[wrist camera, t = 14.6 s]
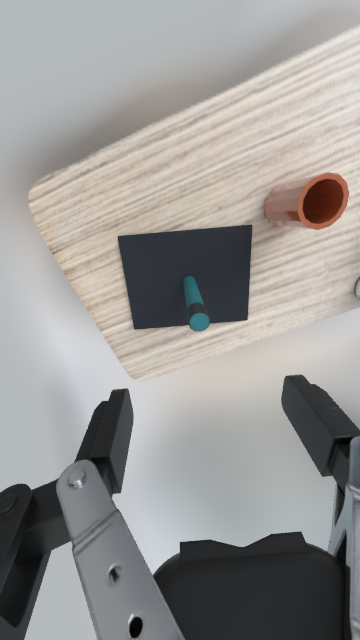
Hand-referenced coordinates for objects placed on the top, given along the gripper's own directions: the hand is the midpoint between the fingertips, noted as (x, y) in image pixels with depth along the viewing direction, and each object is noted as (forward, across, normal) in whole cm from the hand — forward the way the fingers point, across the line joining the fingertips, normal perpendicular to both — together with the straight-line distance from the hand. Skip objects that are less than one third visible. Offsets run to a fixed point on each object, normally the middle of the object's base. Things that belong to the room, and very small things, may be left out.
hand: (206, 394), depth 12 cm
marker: (+16, -1, 0) cm, 17 cm away
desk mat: (+24, -1, 0) cm, 24 cm away
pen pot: (+24, -14, -9) cm, 29 cm away
